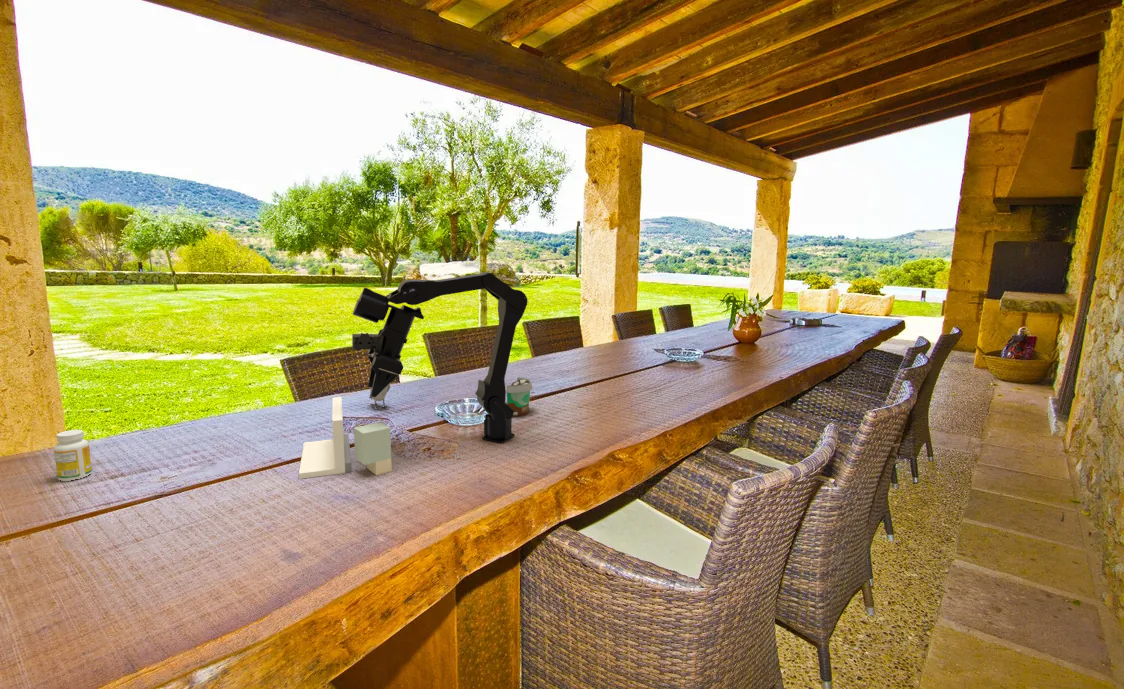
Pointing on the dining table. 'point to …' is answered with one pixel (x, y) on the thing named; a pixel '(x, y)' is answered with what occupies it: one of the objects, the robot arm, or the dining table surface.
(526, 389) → the food container
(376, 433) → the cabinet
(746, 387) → the dining table surface
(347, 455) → the cream l-shaped piece
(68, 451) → the supplement bottle
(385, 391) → the bird
